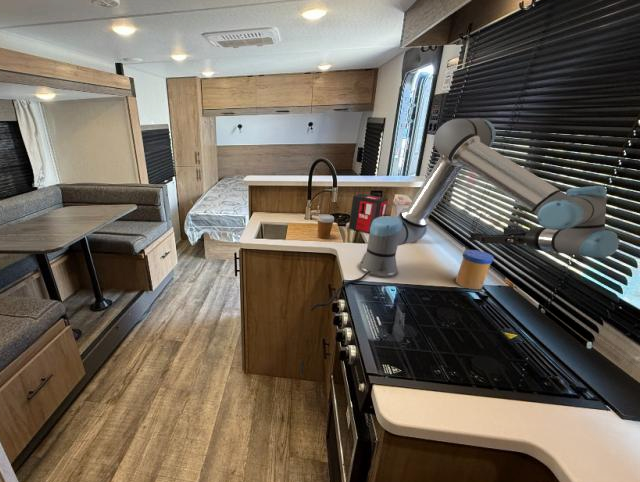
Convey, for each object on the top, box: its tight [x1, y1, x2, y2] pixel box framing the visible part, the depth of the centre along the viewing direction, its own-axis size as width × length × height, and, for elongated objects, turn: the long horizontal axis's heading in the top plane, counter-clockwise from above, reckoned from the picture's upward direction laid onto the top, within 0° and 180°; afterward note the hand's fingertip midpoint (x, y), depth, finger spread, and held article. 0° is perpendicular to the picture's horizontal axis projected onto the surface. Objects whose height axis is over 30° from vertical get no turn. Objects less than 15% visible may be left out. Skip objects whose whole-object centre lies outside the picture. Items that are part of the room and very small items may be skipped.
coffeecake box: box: [390, 193, 413, 217], centre depth 183 cm, size 15×7×20 cm, turn 163°
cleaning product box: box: [348, 193, 389, 234], centre depth 181 cm, size 16×9×20 cm, turn 44°
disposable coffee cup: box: [316, 213, 335, 240], centre depth 172 cm, size 10×10×12 cm
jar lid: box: [462, 249, 495, 265], centre depth 120 cm, size 10×10×2 cm
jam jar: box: [455, 257, 492, 290], centre depth 122 cm, size 9×9×13 cm
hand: (487, 233), depth 117 cm, fingers open, 13 cm apart
